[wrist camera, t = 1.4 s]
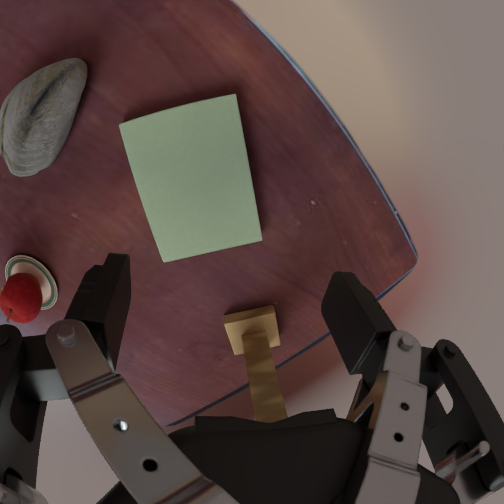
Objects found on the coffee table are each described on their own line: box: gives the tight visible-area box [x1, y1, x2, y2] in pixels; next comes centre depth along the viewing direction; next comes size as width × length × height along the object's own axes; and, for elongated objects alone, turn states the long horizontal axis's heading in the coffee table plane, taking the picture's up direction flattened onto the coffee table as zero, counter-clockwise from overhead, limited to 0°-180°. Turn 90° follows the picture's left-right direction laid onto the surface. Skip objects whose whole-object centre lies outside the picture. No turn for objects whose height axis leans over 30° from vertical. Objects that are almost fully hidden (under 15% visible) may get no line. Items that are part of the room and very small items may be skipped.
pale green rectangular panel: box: [119, 94, 262, 262], centre depth 26 cm, size 10×14×1 cm
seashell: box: [0, 58, 87, 176], centre depth 18 cm, size 12×8×5 cm
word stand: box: [223, 305, 288, 423], centre depth 23 cm, size 6×6×32 cm
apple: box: [0, 255, 58, 323], centre depth 26 cm, size 8×8×6 cm
